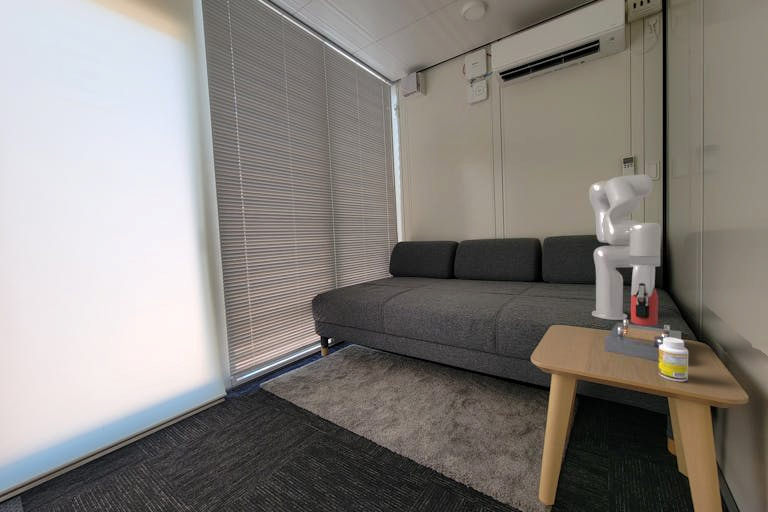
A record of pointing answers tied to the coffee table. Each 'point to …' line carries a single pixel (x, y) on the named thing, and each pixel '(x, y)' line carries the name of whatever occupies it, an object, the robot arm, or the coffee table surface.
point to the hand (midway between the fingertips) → (643, 314)
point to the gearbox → (638, 340)
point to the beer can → (652, 310)
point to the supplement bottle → (673, 359)
